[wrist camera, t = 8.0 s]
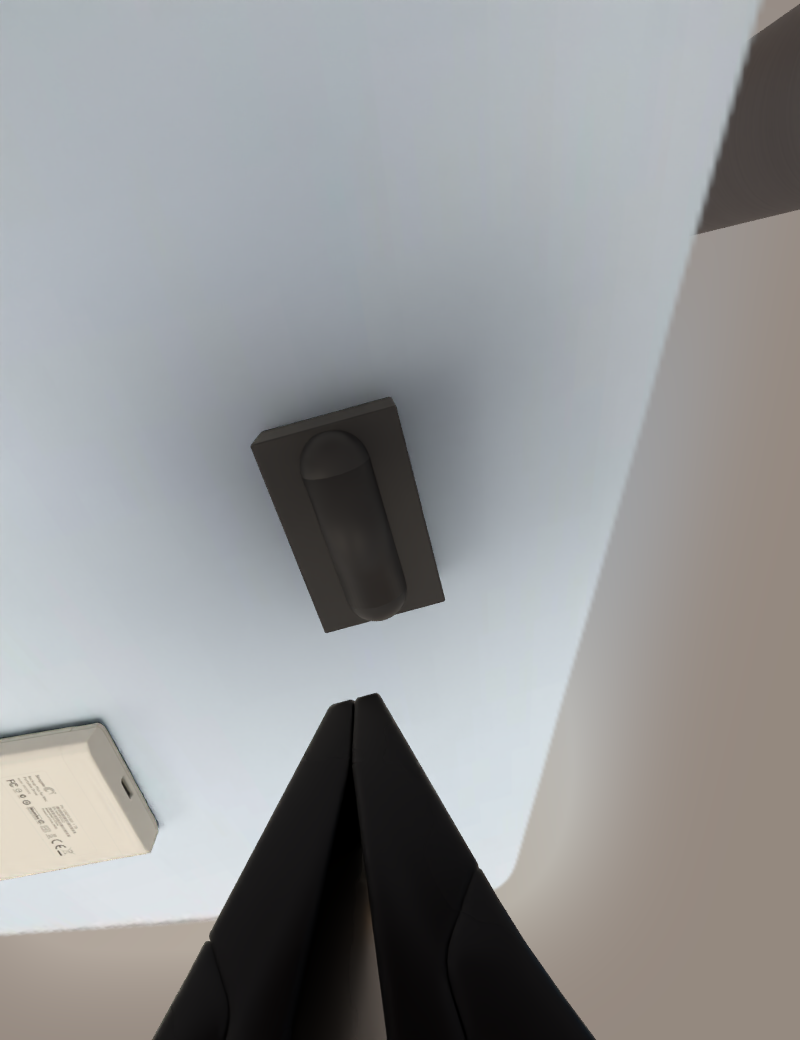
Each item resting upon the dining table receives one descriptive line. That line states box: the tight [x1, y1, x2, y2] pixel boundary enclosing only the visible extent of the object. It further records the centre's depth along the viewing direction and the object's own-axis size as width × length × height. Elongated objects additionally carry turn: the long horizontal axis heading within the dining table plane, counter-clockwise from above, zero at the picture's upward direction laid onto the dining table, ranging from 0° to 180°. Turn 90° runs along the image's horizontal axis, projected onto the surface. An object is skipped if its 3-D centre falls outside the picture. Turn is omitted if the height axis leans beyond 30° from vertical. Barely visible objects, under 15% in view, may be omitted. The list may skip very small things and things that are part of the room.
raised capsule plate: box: [251, 397, 445, 633], centre depth 17 cm, size 8×5×3 cm, turn 14°
